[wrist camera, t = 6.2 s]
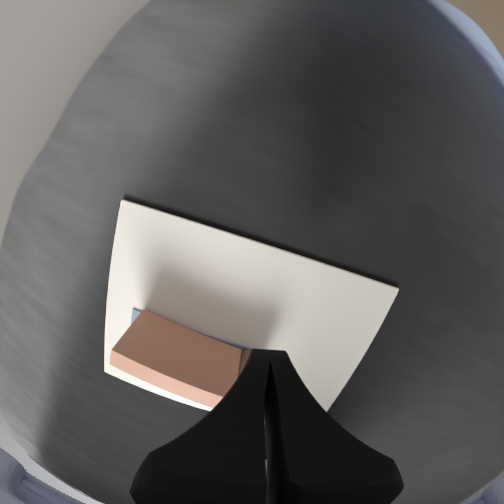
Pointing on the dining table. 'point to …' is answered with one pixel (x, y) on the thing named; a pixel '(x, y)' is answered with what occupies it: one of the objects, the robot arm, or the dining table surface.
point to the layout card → (241, 297)
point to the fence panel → (178, 359)
